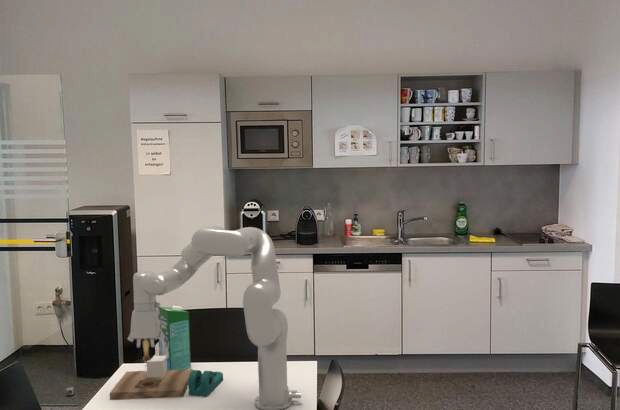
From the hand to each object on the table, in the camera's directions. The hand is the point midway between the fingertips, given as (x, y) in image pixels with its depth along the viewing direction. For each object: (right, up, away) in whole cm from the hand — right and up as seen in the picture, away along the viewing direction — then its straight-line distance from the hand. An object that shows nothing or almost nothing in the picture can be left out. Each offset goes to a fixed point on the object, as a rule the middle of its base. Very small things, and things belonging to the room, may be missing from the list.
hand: (147, 356), depth 195 cm
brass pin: (0, -1, 0) cm, 1 cm away
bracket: (+21, -12, +4) cm, 25 cm away
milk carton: (+4, -11, +23) cm, 26 cm away
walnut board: (+1, -12, +4) cm, 13 cm away
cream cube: (+1, -9, +10) cm, 13 cm away
